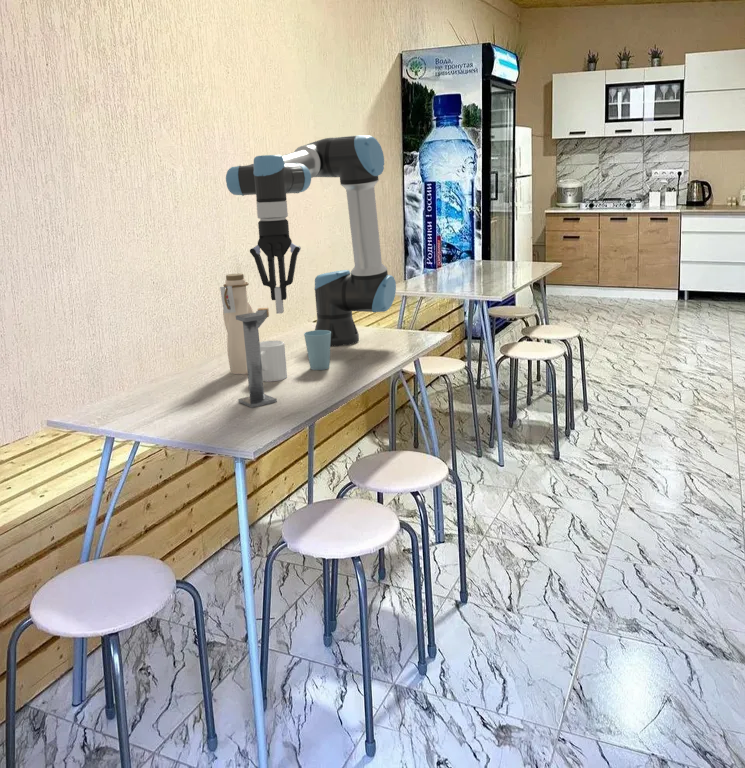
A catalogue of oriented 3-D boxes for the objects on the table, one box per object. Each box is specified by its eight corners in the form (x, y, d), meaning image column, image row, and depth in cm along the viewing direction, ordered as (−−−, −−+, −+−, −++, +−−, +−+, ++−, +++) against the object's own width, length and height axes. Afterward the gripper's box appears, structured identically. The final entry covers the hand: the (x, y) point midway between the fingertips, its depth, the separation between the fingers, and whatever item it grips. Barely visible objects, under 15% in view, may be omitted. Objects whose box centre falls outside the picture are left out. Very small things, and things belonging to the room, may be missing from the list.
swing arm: (257, 329, 194) (257, 320, 193) (247, 330, 194) (246, 321, 193) (269, 315, 212) (268, 307, 211) (259, 316, 212) (258, 308, 211)
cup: (303, 371, 224) (301, 335, 222) (309, 364, 232) (307, 330, 229) (330, 371, 223) (328, 335, 221) (334, 364, 231) (332, 329, 228)
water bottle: (252, 376, 222) (242, 277, 214) (222, 376, 224) (211, 277, 216) (264, 367, 232) (255, 272, 224) (235, 367, 233) (225, 272, 226)
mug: (248, 385, 212) (244, 350, 210) (264, 374, 224) (261, 340, 221) (276, 385, 211) (273, 350, 208) (290, 374, 222) (288, 340, 219)
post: (263, 396, 201) (255, 311, 195) (276, 401, 196) (269, 314, 190) (238, 402, 197) (230, 315, 191) (251, 407, 192) (243, 319, 186)
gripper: (300, 217, 200) (307, 309, 206) (250, 219, 200) (257, 311, 206) (296, 219, 192) (303, 314, 198) (244, 221, 193) (252, 316, 199)
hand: (280, 312), depth 202 cm, fingers closed
